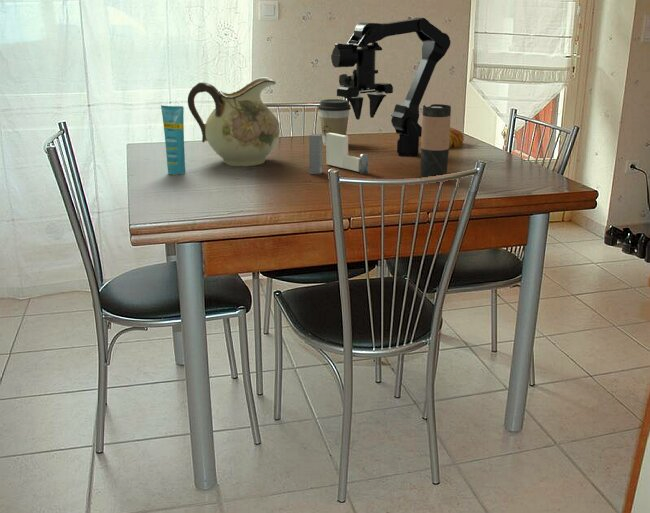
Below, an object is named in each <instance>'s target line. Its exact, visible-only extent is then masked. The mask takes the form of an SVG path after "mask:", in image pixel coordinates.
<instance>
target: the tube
mask: <svg viewBox="0 0 650 513" xmlns="http://www.w3.org/2000/svg"><path fill="white" fill-rule="evenodd" d="M160 107H161V108H160V109H161V115H162V123H163V124H162V125H163V132H164V142H165V144H164V145H165V152H166V164H167V174H169V175H171V174H172V175H171V176H179V175H178V174H181V175H184V174H185V173H186V161H185V160H186V158H185V156H186V154H185V130H184V129H185V127H184V111H185V110H184V106H183V105H181V106H179V105H162V104H161V105H160Z"/></svg>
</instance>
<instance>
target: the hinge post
mask: <svg viewBox="0 0 650 513" xmlns="http://www.w3.org/2000/svg"><path fill="white" fill-rule="evenodd" d="M359 158H360V172H359V174H360V175H368V174H369V161H370V160H369V153H361V154H359Z"/></svg>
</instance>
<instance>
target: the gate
mask: <svg viewBox="0 0 650 513" xmlns="http://www.w3.org/2000/svg"><path fill="white" fill-rule="evenodd" d="M325 147H326V148H325V150H326V152H325V153H326V154H325V155H326V157H325V158H326V159H325V161H326V165H329V166H333V167H337V168H341V169H345V170H349V171H350V170H351V171H355V172H358V173H360V157H357V156H353V155H349V135H347V134H346V135H341V134H336V133H326V146H325Z"/></svg>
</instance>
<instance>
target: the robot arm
mask: <svg viewBox="0 0 650 513" xmlns="http://www.w3.org/2000/svg"><path fill="white" fill-rule="evenodd" d="M410 33H411V34H412V33H415V34H416V36H417V37H418V39H419V40H420V42H422V46H421V60H420V62H419V65H418V68H417V70H416V72H415V74H414V77H413V79H412V82H411V84H410V87H409V89H408V92H407V95H406V96H405V100H404V101H403V102H402V103H401V104H399V103H396V104H395V106H394V109H393V112H392V113H391V115H390V116H391V120H390V122H391V125H392V127H393V128H394V130H395V133H396V134H397V135H398V138H397V139H396V153H397V155H398V156H400V157H401V156H405V157H406V156H408V157H410V156H412V157H414V156H416V157H418V156H419V155H420V153H419V150H420V146H419V145H420V144H419V143H420V138H421V135H422V125H420V124H419V123H418V122H419V119H420V104H421V102H422V100H423V97H424V94H425V92H426V90H427V87H428V86H429V83H430V81H431V78H432V75H433V73H434V71H435V68H436V66H437V64H438V62H440V60H442V59H443V57H445V56H446V53H447V52H448V50H449V48H450V47H451V44H452V43H451V42H452V41H451V40H450V37H449V35H448V34H447V33H445V32H443V31H441V30H440V29H439V28H438V27H436V26H435V25H433V24H432V23H431V22H430V21H429V20H428V19H427V18H425V17H414V18H411V19H403V20H397V21H389V22H384V23H379V22H363V21H362V22H359V23H357V24H356V25H355V27H354V30H353V33H352V35H351V36H350V38H349V40H348V41H347V42H346V43H334V48H333V50H332V53H331V55H330V58H331V64H332V66H333V67H334V68H353V67H355V66H356V67H355V68H356V69H353V70H352V75H348V74H347V73H342V74H340V75H339V76H338V83H339V86H338V87H337V89H336V97H342V98H344V99H345V100H346V99H347V101H348V102H349V103H350V106H351V107H352V108H351V109H352V111H353V114H354V117H355V120H357V121H359V120H360V119H361V115H362V108H363V105H364V104H363V103H364V97H362V96H361V94H366V95H367V97H368V99H369V116H370V118H371V119H372V118H374V117H375V115H376V114H377V111H378V109H379V107H380V105H381V103H382V101H383V100H384V98H385V97H387V95H388V94H393V93H394V86H393V85H392V83H388V82H376V74H379V69H376V52H377V51H378V52H379V51H383V47H382V46H381V45H380V44H379V43H378V42H379V41H381V40H383V39H385V38H387V37H390V36H391V37H392V36H398V35H399V36H400V35H404V34H410ZM384 93H385V94H384Z"/></svg>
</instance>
